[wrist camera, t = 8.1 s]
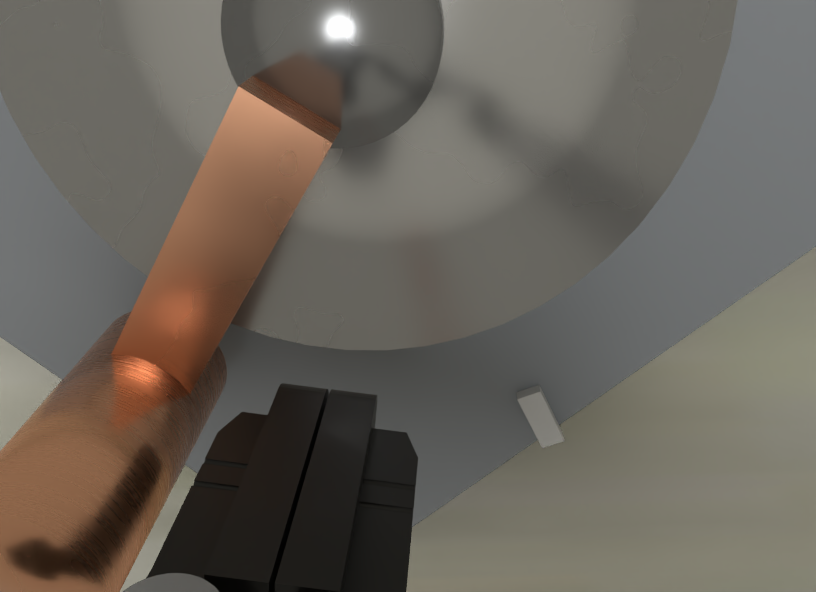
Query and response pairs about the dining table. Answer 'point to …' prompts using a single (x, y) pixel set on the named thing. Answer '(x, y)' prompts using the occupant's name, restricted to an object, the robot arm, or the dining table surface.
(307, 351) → the plate
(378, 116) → the silver and copper crank
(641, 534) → the dining table surface
